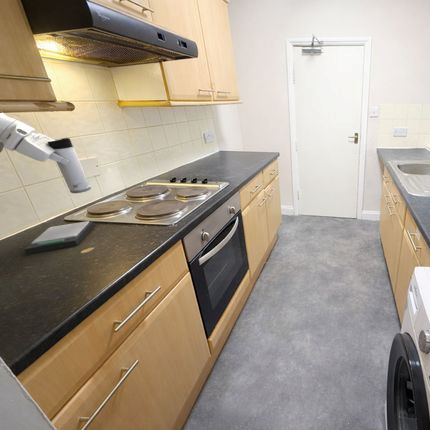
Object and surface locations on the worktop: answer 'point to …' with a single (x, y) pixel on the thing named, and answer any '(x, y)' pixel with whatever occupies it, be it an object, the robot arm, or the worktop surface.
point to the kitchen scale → (60, 237)
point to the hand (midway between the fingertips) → (70, 160)
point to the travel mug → (70, 166)
